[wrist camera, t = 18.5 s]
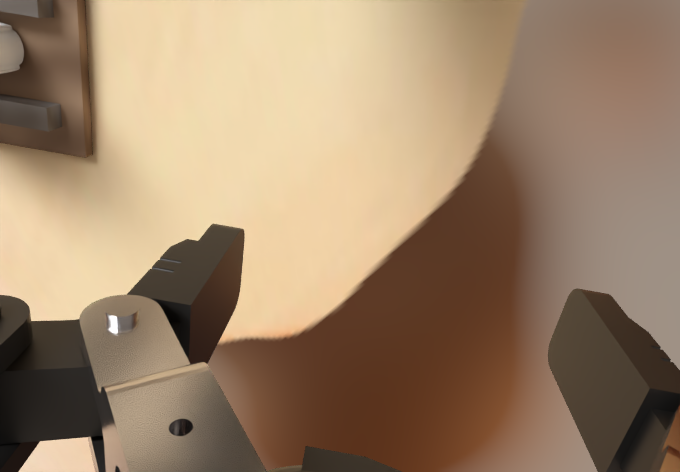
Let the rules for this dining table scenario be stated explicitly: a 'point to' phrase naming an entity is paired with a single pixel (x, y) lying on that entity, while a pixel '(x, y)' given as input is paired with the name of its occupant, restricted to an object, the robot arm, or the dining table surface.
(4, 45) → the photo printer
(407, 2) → the dining table surface
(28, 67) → the cradle
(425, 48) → the dining table surface
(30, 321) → the robot arm
